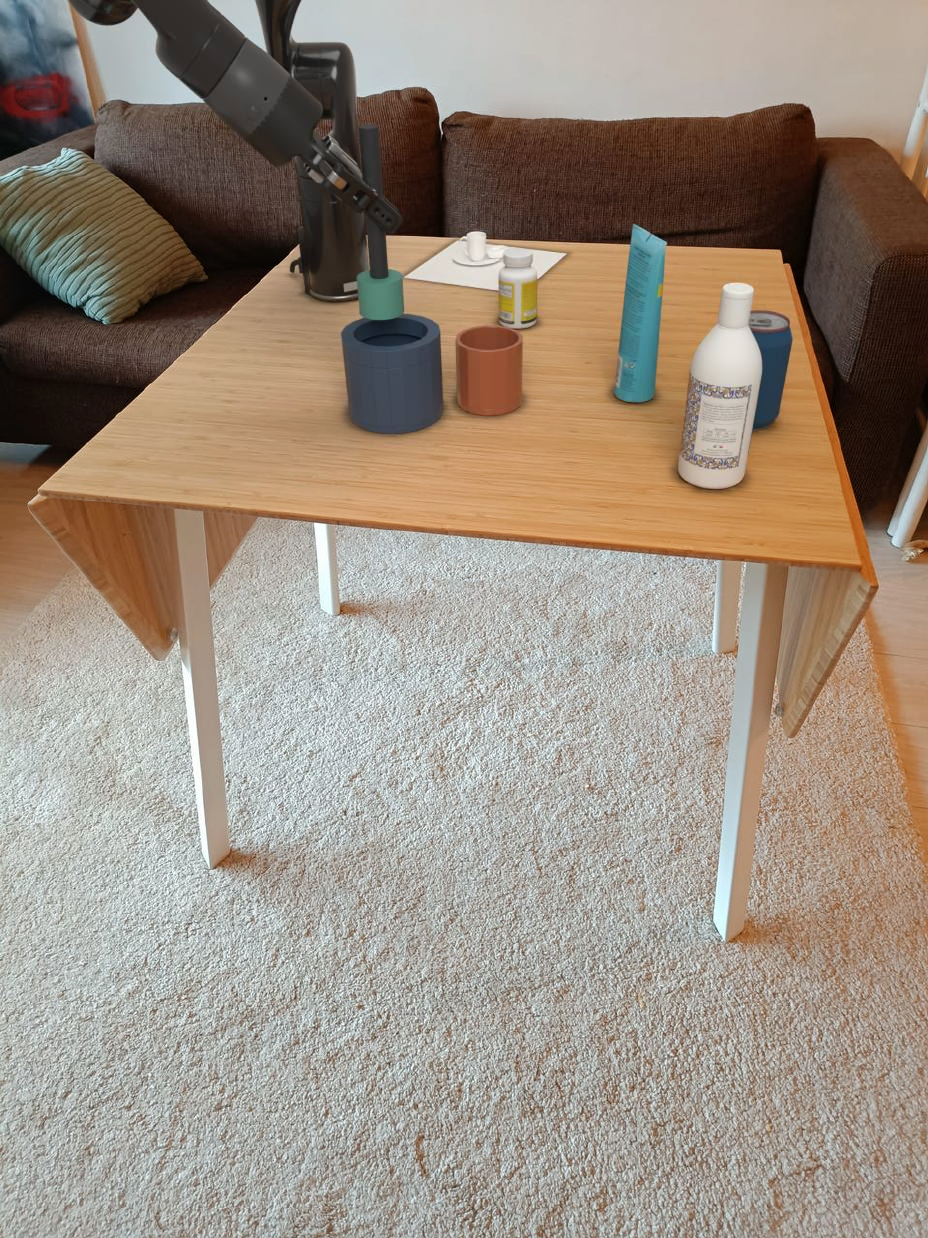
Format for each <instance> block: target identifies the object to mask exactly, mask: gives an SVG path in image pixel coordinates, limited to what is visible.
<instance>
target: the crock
mask: <svg viewBox="0 0 928 1238" xmlns="http://www.w3.org/2000/svg"><path fill="white" fill-rule="evenodd" d="M454 340H455V341H454V343H455V375H456V377H455V378H456V398H457V405H458V406H459V407H460V409H461V410H463V411H465V412H467V413H469V414H473V415H477V416H488V417H489V416H500V415H505V414H509V413H511V412H513V411H515V410H517V409H518V408H520V406H521V405H522V402H523V365H524V364H523V363H524V361H523V357H524V355H523V353H524V349H523V348H524V336H523V335H522V333H521V332H520V331H519V330H518V329H513V328H509V327H504V326H502V325H493V324H491V325H490V324H487V325H486V324H484V325H477V326H472V327H469V328H466V329H462V331H460V332H459V333H457V334H456V336H455V339H454Z"/></svg>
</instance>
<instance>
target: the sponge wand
mask: <svg viewBox="0 0 928 1238" xmlns="http://www.w3.org/2000/svg"><path fill="white" fill-rule="evenodd" d="M358 137H359V152H360V164H361V171H362V177H363V180H364V181H365V182H366V183H367V184H368V185H369V186H370V187H371V188H372V189H373V188H374V189H375V190H376V191H377V194H378V195H379V196H380V197H381V198H382V199H383V196H384V187H383V186H384V185H383V173H382V172H383V171H382V158H381V144H380V143H381V142H380V128H379V125H378V124H375V123H366V124H360V125H358ZM365 225H366V237H367V249H368V261H369V270H367V271H364V272H362V273H360V274H358V276H357V287H358V298H357V299H358V308H359V309H358V311H359V315H360V316H361V318H367V319H371V320H388V319H393V318H396V317H399V316H401V315H402V314H405V313H404V312H405V298H404V296H405V295H404V283H403V282H404V281H403V280H404V279H403V273H402V272H400V271H398V270H396V269H391V268H389V262H388V247H387V246H388V245H387V233H386V232H385V231H384V230H383V229H382V228H381V227H380V226H379V225H378V224H376V223H375V222H374V221H373V220H372V219H371V218H370V217H369V216H367V215H366V214H365Z"/></svg>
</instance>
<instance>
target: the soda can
mask: <svg viewBox="0 0 928 1238" xmlns="http://www.w3.org/2000/svg"><path fill="white" fill-rule="evenodd" d="M790 325H791V320H790V318H789V317H788V316H786V315H785V314H782V313H780V312H776V311H772V310H766V309H765V310H763V309H759V310H758V309H756V310H755V309H754V310H752V309H751V313H750V318H749V323H748V326H749V328H750V330H751V332H752V334H753V336H754V338H755V340H756V342H757V344H758V347H759V349H760V353H761V358H762V378H761V384H760V390H759V395H758V401H757V407H756V413H755V418H754V424H753V430H752V432H760V431H763V430H766V429H767V428H769V427H770V426H771V425H772V424H773V423H774V422H775V421H776V419H777V418H778V417H779V415H780V411H781V405H782V398H783V393H784V389H785V383H786V379H787V372H788V367H789V361H790V356H791V351H792V346H793V341H794V336H793V333H792V329H791V327H790Z"/></svg>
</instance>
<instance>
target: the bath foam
mask: <svg viewBox="0 0 928 1238" xmlns="http://www.w3.org/2000/svg"><path fill="white" fill-rule="evenodd" d="M720 293H721V294H720V301H719V308H718V314H717V315H718V316H717V323H716V324H715V325H714V326H713V328H711V330H709V332H708V333H707V335H706V336H705V337H703V339H702V341H701V342H700V343H699V345H698V347H697V348H696V350H695V352H694V354H693V357H692V360H691V364H690V368H689V373H688V381H687V389H686V398H685V406H684V413H683V423H682V429H681V437H680V445H679V446H680V447H679V454H678V463H677V471H678V474H679V476H680V477H681V478H682V479H683V480H684V481H685V482H686V483H688V484H691V485H692V486H695V487H698V488H701V489H707V490H722V489H727V488H731V487H734V486H736V485H738V484H739V483H740V482H741V481H742V480H743V478H744V476H745V473H746V468H747V463H748V457H749V452H750V446H751V441H752V435H753V431H752V430H753V424H754V418H755V413H756V407H757V401H758V395H759V390H760V384H761V378H762V358H761V353H760V349H759V347H758V344H757V342H756V340H755V338H754V336H753V334H752V332H751V330H750V328H749V326H748V323H749V318H750V313H751V311H752V307H753V299H754V293H755V289H754V286H752V285H750V284H749V283H745V282H730V283H725V284H724V285H723V286H722V288H721V292H720Z"/></svg>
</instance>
